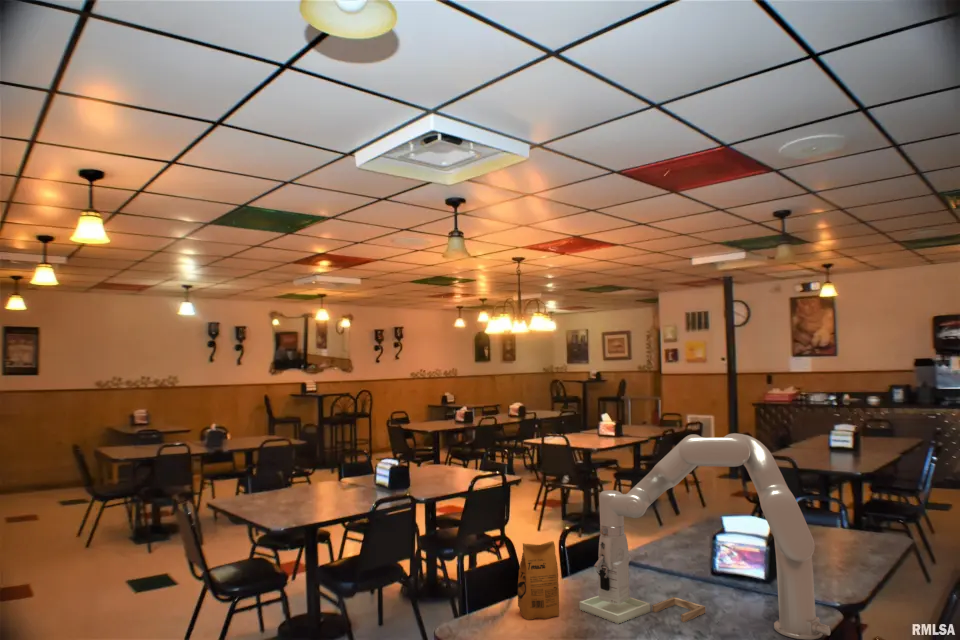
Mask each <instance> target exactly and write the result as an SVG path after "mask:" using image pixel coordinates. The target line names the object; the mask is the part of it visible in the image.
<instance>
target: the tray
mask: <svg viewBox="0 0 960 640" xmlns="http://www.w3.org/2000/svg"><path fill="white" fill-rule="evenodd" d="M581 610H582V611H581ZM579 611H581V612H584V611H585V612H584V613H586V612H587V614H589V613H591V614H590V615H592V614H594V615H596V616H595V617H597V616H599V617H598V618H600V617H602V618H604V619H603V620H605V619H607V620H606V621H608V620H609V621H608V622H611V621H612V622H611V623H613V622H615V623H614V624H616V623H617V624H616V625H620V624H619V623H621V624H622V622H623V623H625V622H624V621H626V622H628V621H630V620H629V619H631V620H633V619H636V618H638V617H640V616H643V615H645V614H648V613H650V612H651V603H649V602H646V601H644V600H640V599H636V598H633V597H631V596H629V599H627V600H626V601H624V602H623V603H621V604H620V605H616V604H613V603H609V602H606V601H602V600H599V595H597V596H596V595H595V596H593V597H590V598H587V599H585V600H580V601H579ZM594 615H593V616H594ZM635 617H636V618H635ZM602 618H601V619H602ZM632 618H633V619H632ZM627 620H628V621H627Z"/></svg>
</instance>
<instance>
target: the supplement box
mask: <svg viewBox="0 0 960 640" xmlns="http://www.w3.org/2000/svg"><path fill="white" fill-rule="evenodd" d="M602 565H603V566H605V567H606V565H605V561H604V562H603V564H602ZM629 568H630V565H629V564H628V559H625V560H622V561H619V562H616V563H614V564H613V570H610V571H609V574H608V578H609V588H610V590H609V591H606V590H603V589H601V587H600V576H599V574H598V573H597V575H598V577H597V578H598V579H597V580H598V582H597V583H598V584H597V585H598V596H599V600H602V601H606V602H609V603H613V604H616V605H620V604H621V603H623V602H624V601H626V600H627V599H629V597H630V579H629V578H630V575H629V573H630V570H629ZM603 571H604V572H605V571H606V569H604V568H603Z"/></svg>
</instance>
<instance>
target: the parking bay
mask: <svg viewBox="0 0 960 640" xmlns="http://www.w3.org/2000/svg"><path fill="white" fill-rule="evenodd" d="M651 606H652V607H651V611H652V612H651V613H658V612H660V611H663V610H665V608H666V609H668V608H670V607H673V606H678V607H680V608H683V609H687V610H689V611H687V612H684V613H682V614H680V622H681V621H682V622H681V623H686V622H688V620H689V621H691V620H693V619H695V617H696V618H698V617H700V616H702V615H704V613H705V614H706V612H707V611H706V605H702V604H700V603H699V604H698V603H696V602H695V603H694V602H692V601H688V600H685V599H682V598H679V597H675V596H672V597H670V598H667V599H665V600H662V601H660V602H657V603H654V604H652V605H651ZM699 615H700V616H699ZM697 616H698V617H697ZM690 619H691V620H690Z"/></svg>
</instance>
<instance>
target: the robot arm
mask: <svg viewBox="0 0 960 640" xmlns="http://www.w3.org/2000/svg"><path fill="white" fill-rule="evenodd" d="M742 465H743V466H744V467H745V469H746V471H747V473H748V475H749V477H750V479H751V481H752V483H753V486H754V489H755V491H756V493H757V496H758V498H759V503H760V508H761V510H762V513H763V515H764V518H765V520H766V522H767V525H768V527H769V530H770V532H771V534H772V536H773V539H774V550H775V562H776V579H777V580H776V581H777V598H778V599H777V600H778V616H779V619H778V620H776V621H775V622H773V628H774V630H775V631H776V632H777V633H779V634H781V635H783V636H785V637H789V638H792V639H797V640H818V639H820V638H822V637H823V635H825V636H831V628H830V625H827V624H824V623H822V622H820V621H821V620H820V617H818V616H816V602H815V601H816V598H815V583H814V566H813V554H814V552H815V548H816V545H815V540H814V537H813V535H812V533H811V530H810V528H809V525H808V524H807V522H806V519H805V516H804V514H803V512H802V510H801V508H800V506H799V504H798V501H797V500H796V497H795V496H794V494H793V493H792V491H791V489H790V488H789V487H788V484H787V482H786V481H785V478H784V476H783V474H782V472H781V470H780V468H779V466H778V464H777V462H776V460H775V458H774V456H773V454H772V453H771V451H770V450H769V449H768V447H767V446H765V445H764V444H763V443H762V442H761V441H760V440H758V439H756V438H755V437H753V436H751V435H748V434H743V433H736V432H734V433H728V434H726V435H725V436H723V437H704V436H703V437H702V436H700V435H699V434H696V433H695V434H689V435H687V436H685V437H684V438H683V439H681V440H680V441H679V442H678V443H677V444H676V445H675V446H674V447H673V448H672V449H671V450H670V451H669V452H668V453H667V454H666V455H664V457H663V458H662V459H661V460H659V461H658V462H657V463H656V464H655V465H654V467H652V469H651V470H650V471H649V472H648V473H647V474H646V475H645V476H644V477H643V478H642V479H640V481H639V482H637V484H636V485H634V486H633V487H632V488H631V489H630V490H629V491H628V492H627V493H626V494H625V493H622V492H621V491H619V490H615V489H613V490H611V489H610V490H602V491H601V492H599V495H598V496H599V498H598V499H599V501H598V502H599V524H600V525H599V529H600V530H599V533H600V535H599V540H598V541H599V542H598V560H597V561H596V562H595V564H594V565H593V566H594V568H595V570H596V573H597V575H598V574H599V576H600V587H601V589H603V590H606V591H609V590H610V588H609V578H608V574H609V571H610V570H613V564H614V563H616V562H619V561H622V560H625V559H628V564H629V566H630V564H631V563H630V562H631V559H632V554H630V553H629V545H628V543H629V542H628V538H627V535H626V533H625V517H627V518H632V519H633V518H634V519H638V518H640V517H643V516H644V515H645V513H646V512H647V509H648V508H649V507H650V506H651V504H653V503H654V502H655V501H656V500H657V499H658V498H659V497H660V496H662V494H663V495H664V493H665V492H666V491H668V490H669V489H671V488H675V486H677V485H678V484H680V483H681V481H682V480H685V479H684V478H686V477H687V476H688V475H689V474H690V473H691V472H692V471H693V470H694V469H696V468H697V467H725V468H726V467H728V468H729V467H731V468H732V467H740V466H742ZM604 561H605V565H606V567H605V566H603V565H602V564H603V562H604ZM603 568H604V569H606V571H605V572H604V571H603Z"/></svg>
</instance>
